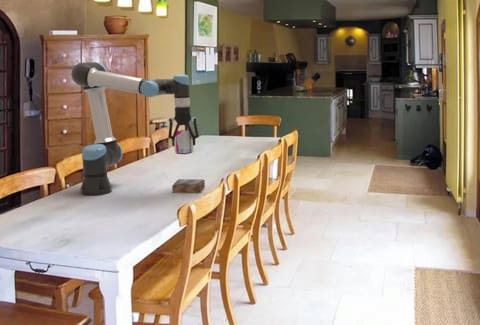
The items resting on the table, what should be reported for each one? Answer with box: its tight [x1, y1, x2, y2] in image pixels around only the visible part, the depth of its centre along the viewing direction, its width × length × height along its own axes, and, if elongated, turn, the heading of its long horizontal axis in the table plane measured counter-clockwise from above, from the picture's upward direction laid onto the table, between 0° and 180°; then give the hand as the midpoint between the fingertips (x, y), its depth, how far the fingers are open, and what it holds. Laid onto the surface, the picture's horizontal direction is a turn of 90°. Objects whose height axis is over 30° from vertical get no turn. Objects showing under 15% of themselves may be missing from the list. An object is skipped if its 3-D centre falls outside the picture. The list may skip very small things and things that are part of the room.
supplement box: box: [175, 129, 193, 155], centre depth 287 cm, size 6×6×12 cm
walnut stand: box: [171, 178, 206, 194], centre depth 293 cm, size 14×14×4 cm
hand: (184, 151), depth 288 cm, fingers closed on supplement box, 8 cm apart
